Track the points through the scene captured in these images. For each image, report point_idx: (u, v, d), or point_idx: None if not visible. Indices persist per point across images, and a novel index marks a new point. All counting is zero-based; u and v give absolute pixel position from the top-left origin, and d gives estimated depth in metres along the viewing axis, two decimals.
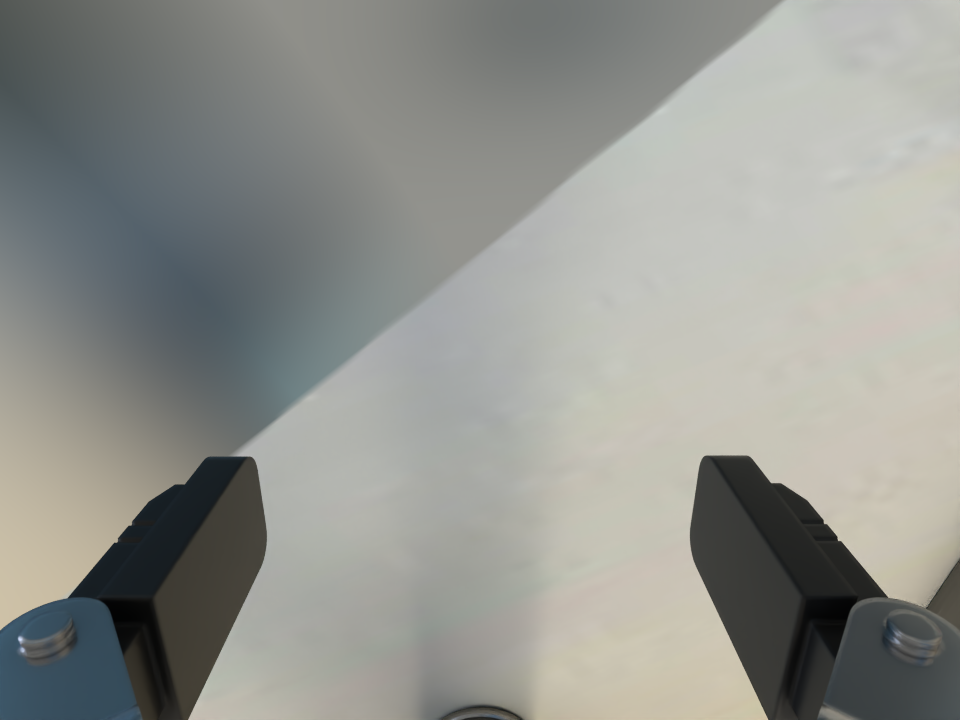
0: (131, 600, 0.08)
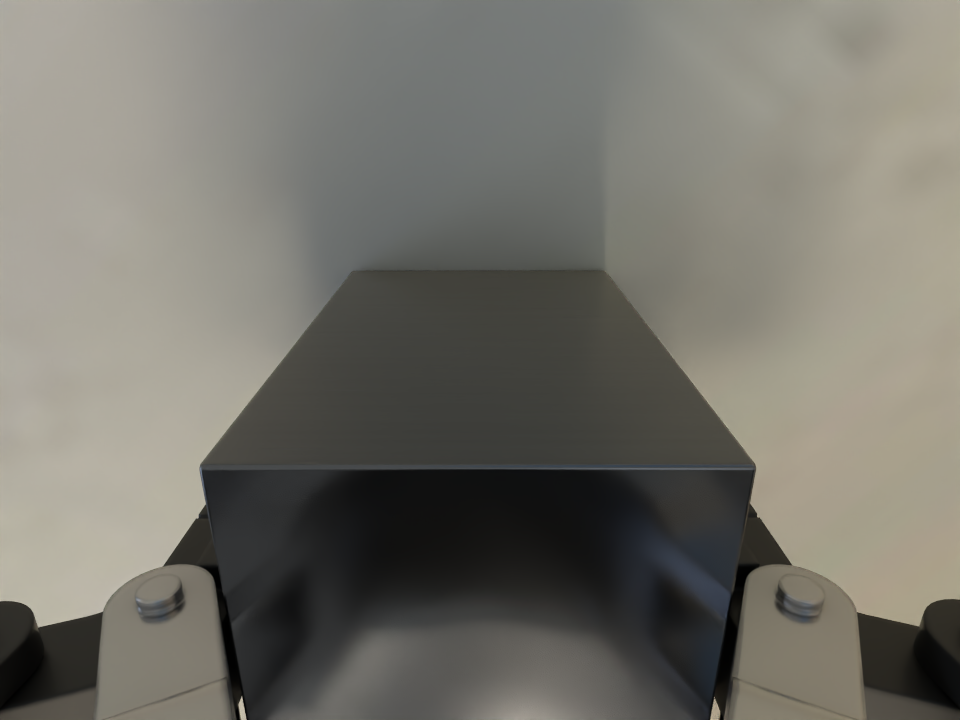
0: None
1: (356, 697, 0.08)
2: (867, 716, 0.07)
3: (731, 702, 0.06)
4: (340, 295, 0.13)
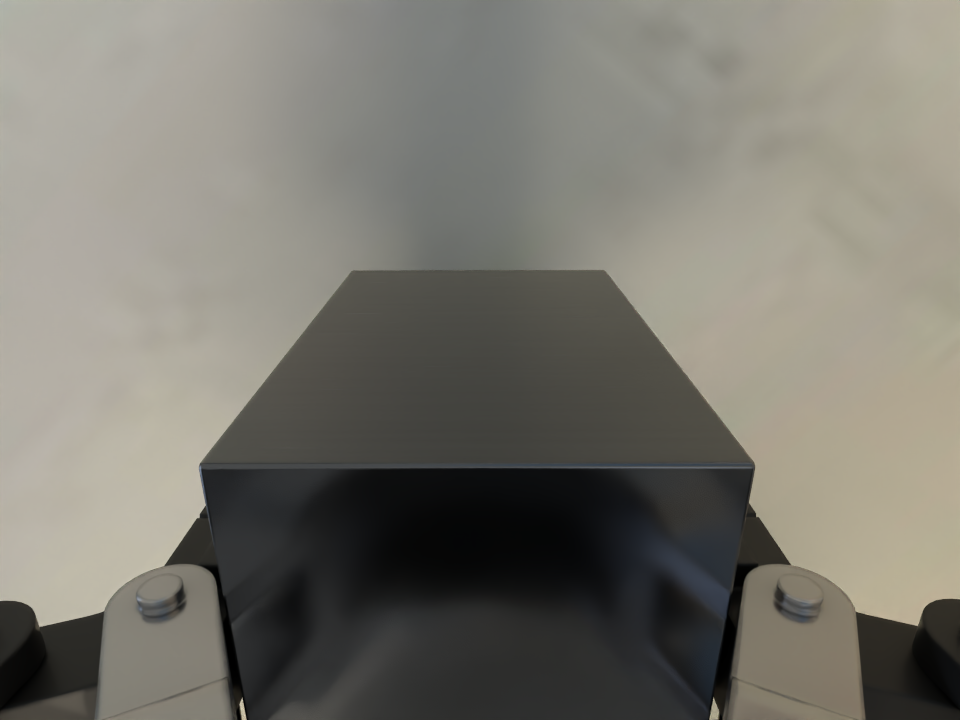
0: None
1: (356, 696, 0.08)
2: (866, 716, 0.07)
3: (730, 701, 0.06)
4: (340, 295, 0.13)
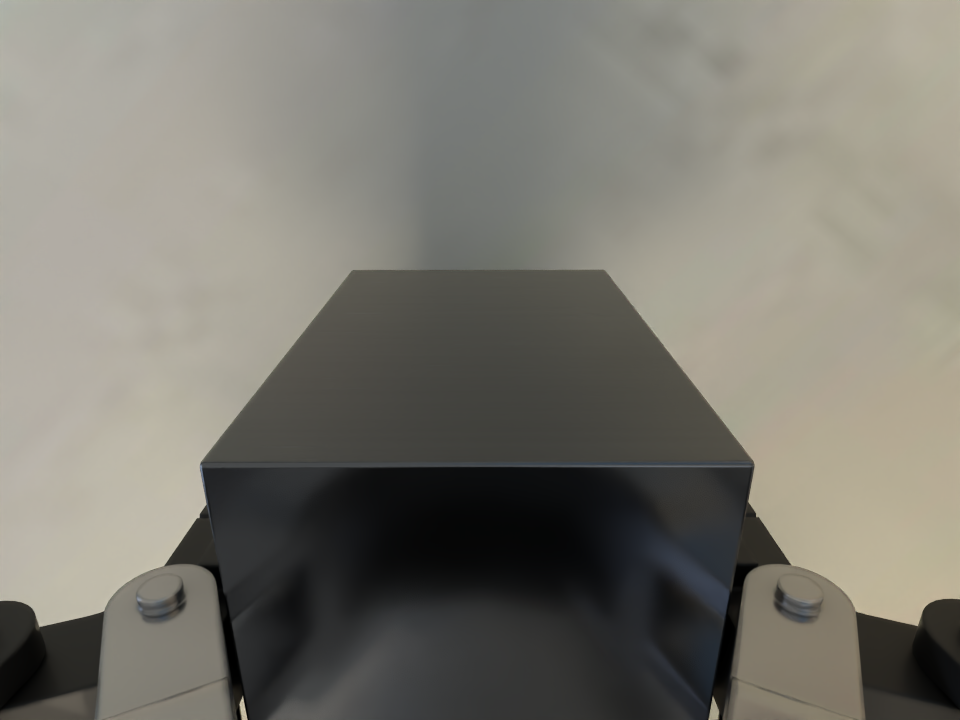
0: None
1: (356, 694, 0.08)
2: (866, 716, 0.07)
3: (730, 702, 0.06)
4: (340, 294, 0.13)
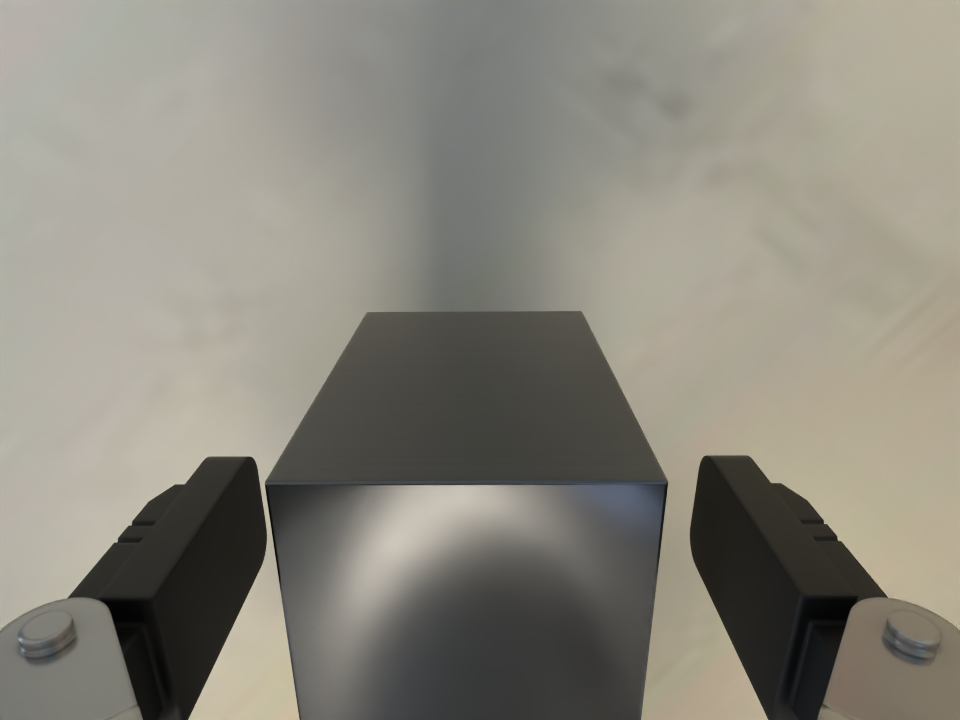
0: (131, 600, 0.08)
1: (377, 656, 0.11)
2: None
3: None
4: (358, 336, 0.16)
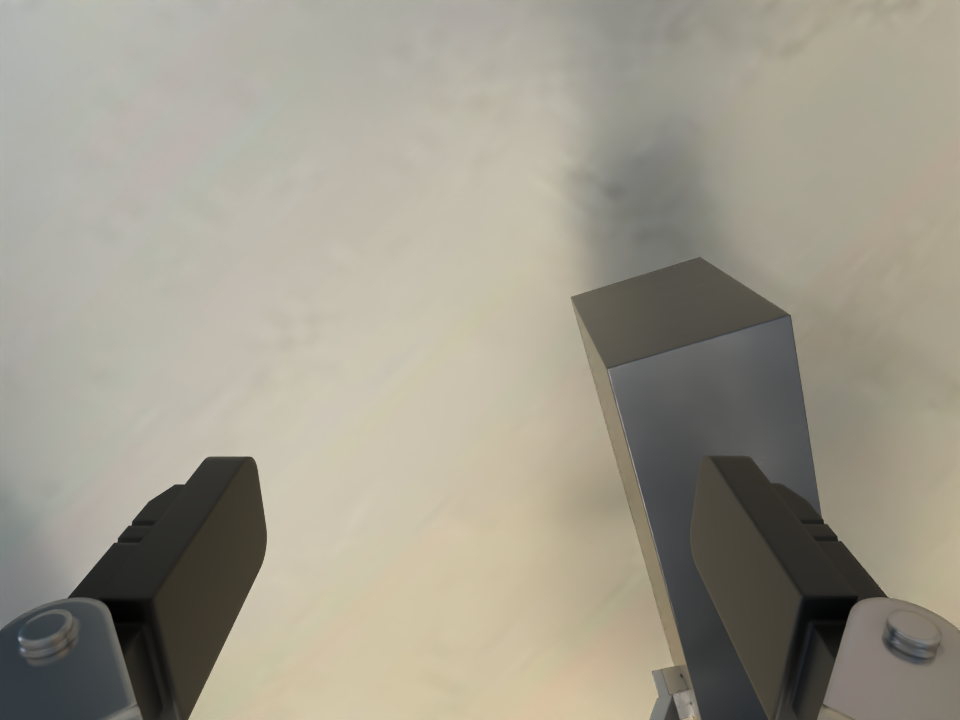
0: (131, 600, 0.08)
1: (671, 443, 0.22)
2: None
3: None
4: (581, 309, 0.27)
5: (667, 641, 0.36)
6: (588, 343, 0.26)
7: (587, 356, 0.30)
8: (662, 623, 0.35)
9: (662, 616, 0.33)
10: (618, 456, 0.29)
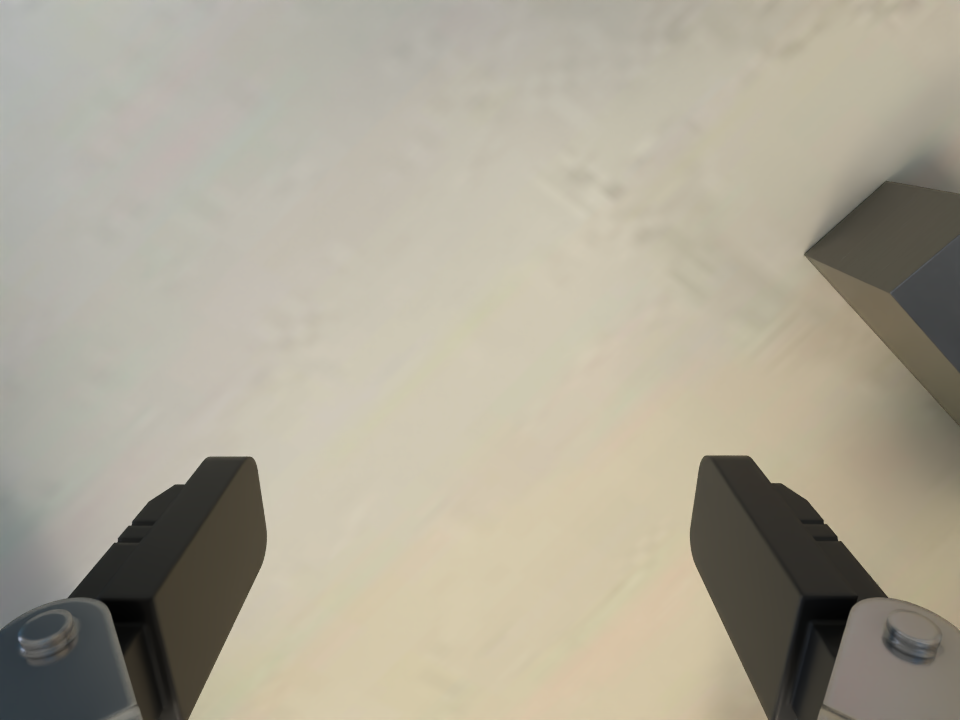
0: (131, 600, 0.08)
1: (953, 316, 0.31)
2: None
3: None
4: (823, 260, 0.37)
5: None
6: (844, 280, 0.36)
7: (834, 287, 0.40)
8: None
9: None
10: (895, 342, 0.39)
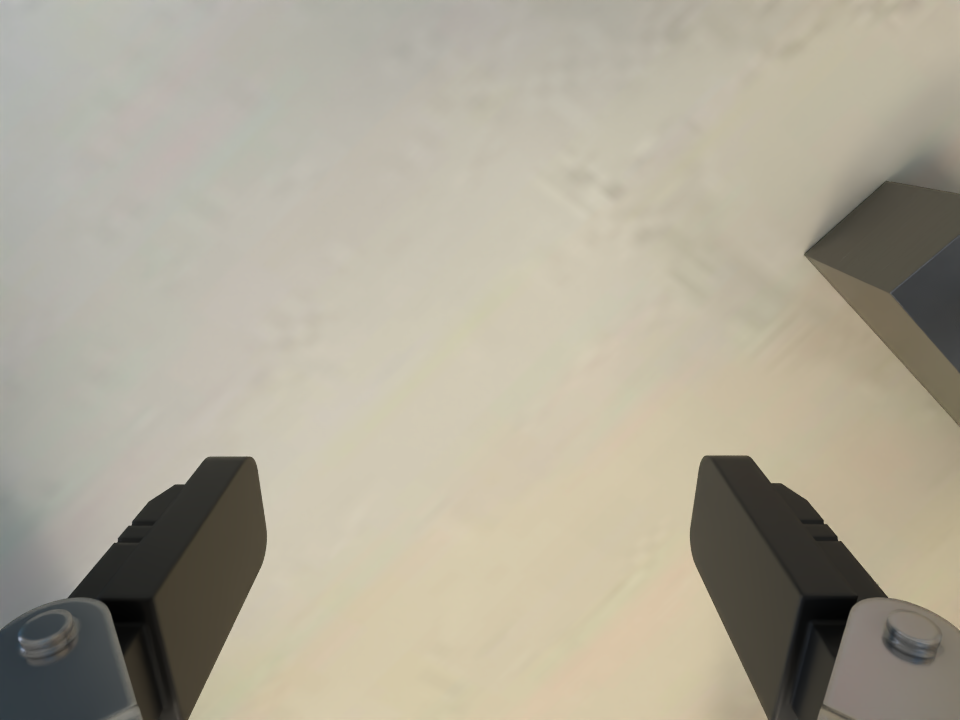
0: (131, 600, 0.08)
1: (953, 316, 0.31)
2: None
3: None
4: (823, 260, 0.37)
5: None
6: (844, 280, 0.36)
7: (834, 287, 0.40)
8: None
9: None
10: (895, 342, 0.39)
